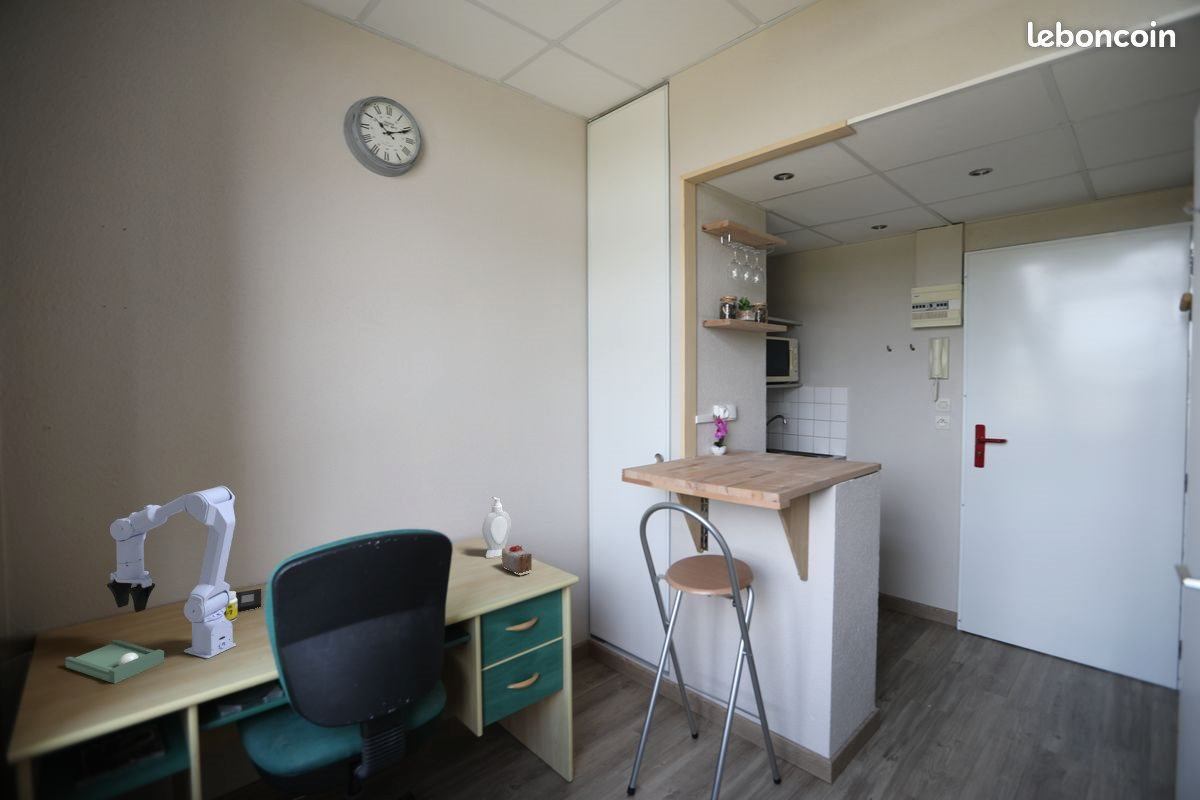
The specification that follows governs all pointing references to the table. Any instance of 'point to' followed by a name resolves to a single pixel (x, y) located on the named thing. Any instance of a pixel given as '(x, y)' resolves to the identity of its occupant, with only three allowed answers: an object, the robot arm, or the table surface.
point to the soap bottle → (496, 529)
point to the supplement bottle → (231, 608)
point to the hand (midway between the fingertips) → (131, 608)
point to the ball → (127, 658)
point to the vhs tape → (248, 600)
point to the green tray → (115, 661)
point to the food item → (516, 559)
